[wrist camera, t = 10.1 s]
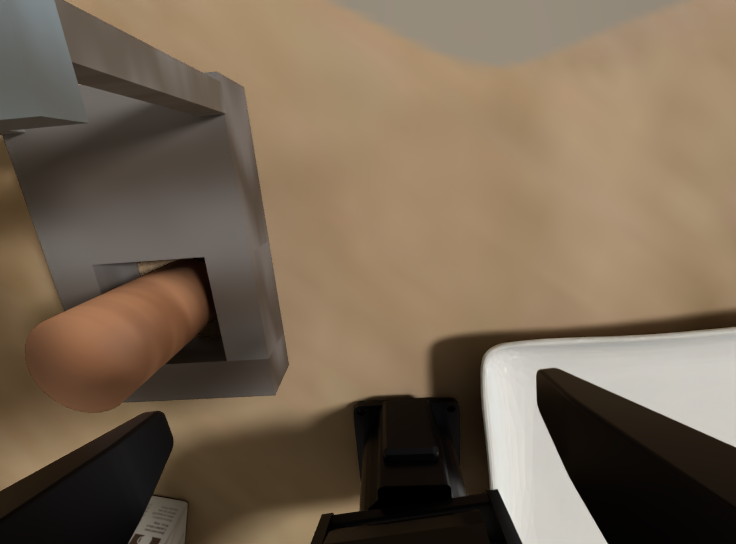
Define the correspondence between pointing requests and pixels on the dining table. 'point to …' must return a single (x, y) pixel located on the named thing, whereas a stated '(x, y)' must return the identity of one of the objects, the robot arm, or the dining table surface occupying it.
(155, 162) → the socket block
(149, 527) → the coffee box
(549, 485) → the salad plate
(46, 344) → the peg
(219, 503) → the dining table surface
